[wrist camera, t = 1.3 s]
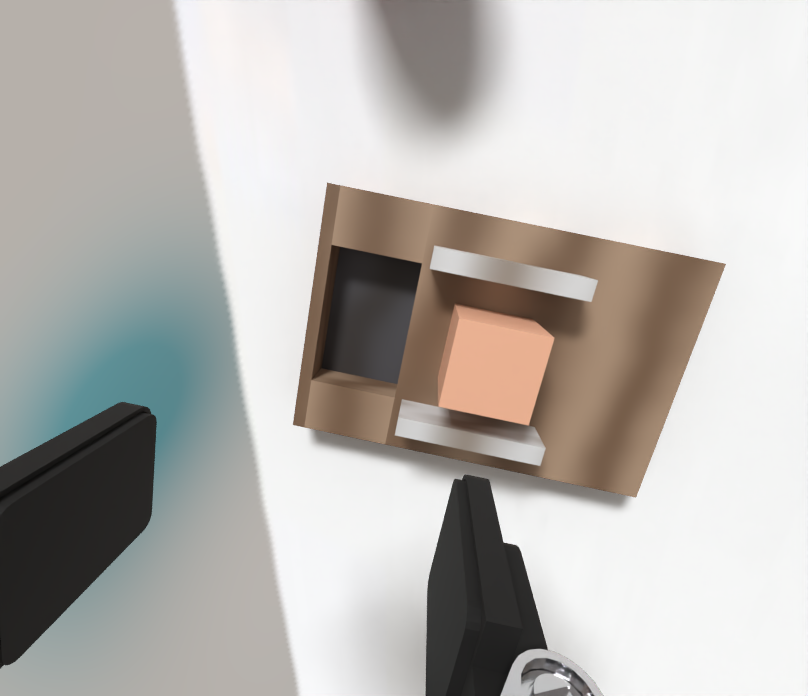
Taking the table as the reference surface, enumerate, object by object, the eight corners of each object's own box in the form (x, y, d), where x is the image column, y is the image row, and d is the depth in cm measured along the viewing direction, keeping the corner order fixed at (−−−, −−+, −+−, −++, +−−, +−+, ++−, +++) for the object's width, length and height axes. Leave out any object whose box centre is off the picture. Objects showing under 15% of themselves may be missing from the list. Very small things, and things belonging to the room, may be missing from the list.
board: (696, 260, 29) (762, 267, 23) (618, 474, 33) (657, 525, 27) (337, 188, 29) (313, 176, 23) (305, 408, 33) (278, 445, 27)
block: (533, 319, 27) (554, 338, 23) (512, 393, 29) (528, 425, 24) (454, 303, 28) (459, 318, 23) (437, 377, 29) (438, 406, 24)
